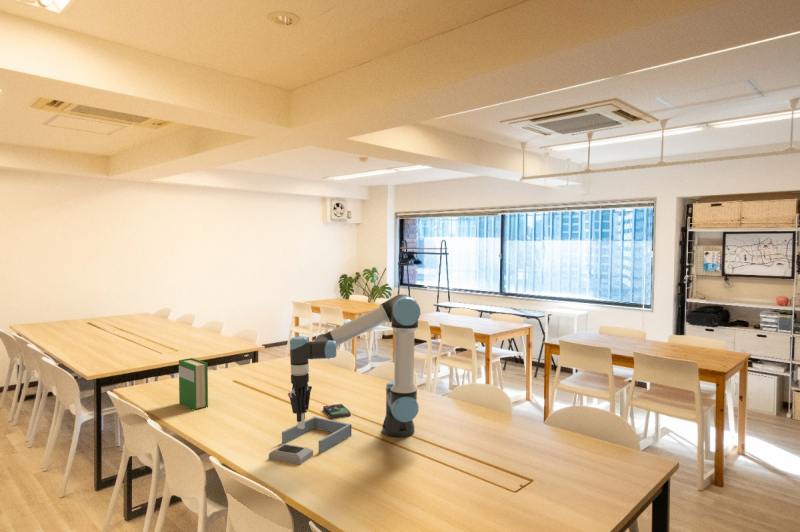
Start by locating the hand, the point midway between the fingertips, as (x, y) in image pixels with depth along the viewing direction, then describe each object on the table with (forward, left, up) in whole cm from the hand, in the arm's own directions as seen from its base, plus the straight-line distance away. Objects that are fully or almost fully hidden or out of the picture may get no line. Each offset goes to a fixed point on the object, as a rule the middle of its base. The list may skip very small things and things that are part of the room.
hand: (301, 428), depth 210 cm
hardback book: (+88, -16, -9) cm, 90 cm away
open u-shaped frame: (0, -12, -9) cm, 15 cm away
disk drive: (+13, -44, -10) cm, 47 cm away
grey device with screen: (-2, +9, -9) cm, 13 cm away
